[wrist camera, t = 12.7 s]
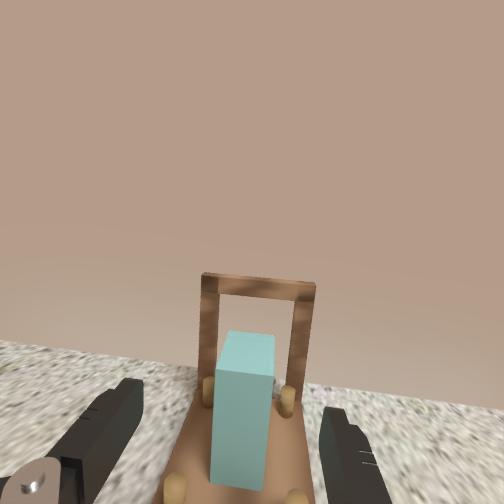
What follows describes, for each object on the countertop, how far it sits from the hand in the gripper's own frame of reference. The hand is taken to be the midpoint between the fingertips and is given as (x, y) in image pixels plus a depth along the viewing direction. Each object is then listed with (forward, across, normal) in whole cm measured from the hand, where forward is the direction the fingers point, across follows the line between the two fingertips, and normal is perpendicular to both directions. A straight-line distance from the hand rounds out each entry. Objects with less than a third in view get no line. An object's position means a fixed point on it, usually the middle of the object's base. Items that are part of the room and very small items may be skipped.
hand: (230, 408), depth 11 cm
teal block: (+10, 0, +15) cm, 18 cm away
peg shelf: (+10, -1, +18) cm, 21 cm away
